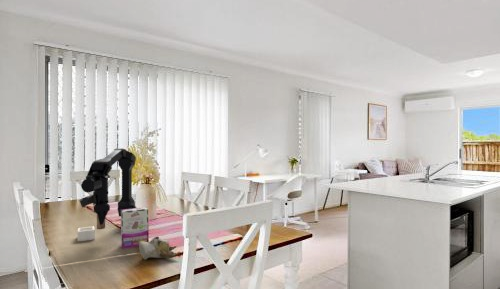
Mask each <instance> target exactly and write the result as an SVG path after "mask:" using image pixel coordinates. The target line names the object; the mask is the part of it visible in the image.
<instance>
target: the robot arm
mask: <svg viewBox="0 0 500 289" xmlns="http://www.w3.org/2000/svg"><path fill="white" fill-rule="evenodd" d="M136 161H137V157H136V155H135V154H134V153H133V152H131V151H129V150H127V149H125V148H121V147H120V148H117V147H116V148H114V149H113V150H112V152H110V153H109V154H107V155H106V156H105V157H104V158H100V159H96V160H94V161H92V163H91V165H90V167H89V169H88V172H87V174H86V176H85V179H84V180H83V181H82V182H81V185H80V187H81V189H82V192H85V193H92V194H90V195H87V196H85V197H82V198H79V204H80V205H81V208H85V207H87V206H89V205H91V204H92V205H93V207H92V208H93V212H94V213H95V214H96V215H97V214H98V218H99V223H100V225H102V224H103V222H104V220H105V221H106V217H107V215H108V213H109V211H110V210H111V209H110V208H111V207H110V206H111V205H110V204H109V179H110V178H111V176H110V175H109V174H110V172H111V171H112V169H113V167H112V166H114V165H115V164H116V163H118V167H119V168H120V169H121V198H120V200H118V201H117V213H118V217H121V210H124V209H134V208H137V206H136V201H135V199H134V198H133V196H132V195H133V194H132V193H133V192H132V190H133V189H132V188H133V186H132V185H133V184H132V182H133V180H132V176H133V173H132V171H133V168H134V167H135V165H136Z"/></svg>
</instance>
